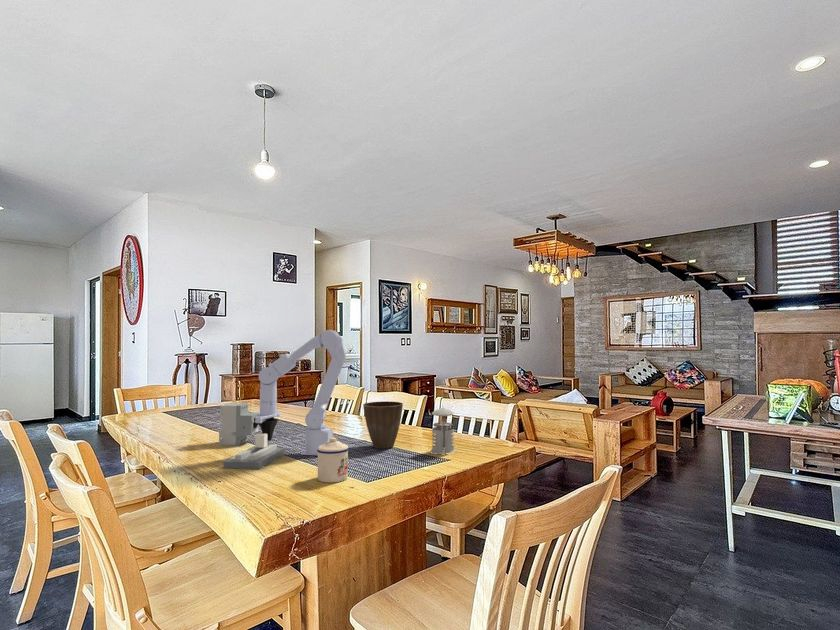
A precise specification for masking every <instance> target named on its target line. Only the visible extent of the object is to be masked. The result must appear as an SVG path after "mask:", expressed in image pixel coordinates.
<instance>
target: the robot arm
mask: <svg viewBox="0 0 840 630" xmlns="http://www.w3.org/2000/svg"><path fill="white" fill-rule="evenodd" d="M324 347H325V348H326V350H327V351H328V353H329V355H330V357H331V360H330V363H329V364H328V365H329V366H328V368H327V370H326V373H325V376H324V378H323V380H322V383H321V385H320V389H319V391H318V393H317V396H316V397H315V398H316V399H315V401H314V403H313V405H312V407H311V409H310V410H309V412H307V414H306V415H305V419H304V420H305V421H304V422H305V424H306V426H305V428H304V429H305V431H304V432H305V433H304V435H305V436H304V439H305V440H304V441H305V442H304V445H305V447H304V451H303V452H301V453H300V455H301V456H318V451H317V448H318V447H319V446H320V445H323V444H325V443H326V442H328V441H329V439H330V438H333V437H334V431H333V429H332V428H330V427H327V425H326V424H325V422H324V421H325V420H326V417H327V413H326V412H327V411H326V410H327V407H328V405H329V401H330V400H331V396H332V394H333V391H334V389H335V386H336V384H337V381H338V379H339V376H340V374H341V370H342V368H343V366H344V364H345V361H346V358H347V356H346V350H345V347H344V341H343V338H342V337H341V335H340V334H339V333H338V331H336V330H333V329H326V330H324V331H323V332H322V333H319V334H318V335H316V336H314V337H312V338H311V339H309V340H308V341H307V342H305V343H304V344H303V345H302V346H300V347H299V348H297V349H296V350H295V351H294V352H292V353H284V354H280V355H279V356H278V357H279V358H277V359H276V360H274V361H273V362H272V363H271V362H270V363H268V365H267V366H268V367H267V366H266V367H263V368H262V370H260V371H259V373H258V379H259V381H260V384H259V385H260V386H259V387H260V388H259V414H257V417H255V423H258V424H259V429H260V430H261V434H267V442H268V441H269V442H270V441H272V439H273V436H274V432H275V428H276V426H277V424H278V422H279V419H278V418H276V417H280V416H281V412H280V410H277V409H278V407H277V406H278V404H277V403H278V392H277V391H278V388H277V387H278V386H277V381H278V380H279V378H280V377H283V376H284V375H286V374H287V373H288V372H290V371H291V370H293V369H294V368H295V367H296V365H297V362H298V360H300V359H302V358H303V357H304V356H306V355H308V354H309V353H310V352H312V351H314V350H315V349H320V348H324Z"/></svg>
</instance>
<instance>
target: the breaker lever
mask: <svg viewBox="0 0 840 630" xmlns="http://www.w3.org/2000/svg"><path fill="white" fill-rule="evenodd" d="M254 439H255V441H254V446H255V447H258V449H256V452H257V451H259V450H261V449H263V448H265V447H267V446H268V441H267V434H263V433H262V432H261V433H257V434H256V433H255V436H254Z"/></svg>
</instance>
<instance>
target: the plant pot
mask: <svg viewBox="0 0 840 630" xmlns="http://www.w3.org/2000/svg"><path fill="white" fill-rule="evenodd" d="M403 406H404V403H403V402H400V401H387V400H386V401H371V402H366V403H363V406H362V407H363V413H364V419H365V423H366V428H367V432H368V435H369V437H370V440H371V443H372V444H371V445H373V448H374V447H376V448H375V449H378V448H387V449H391V448H390V447H392V448H393V447H394V446H395V442H396V440H397V437H398V434H399V429H400V426H401V425H400V423H401V420H402V414H403V413H402V412H403Z"/></svg>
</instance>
